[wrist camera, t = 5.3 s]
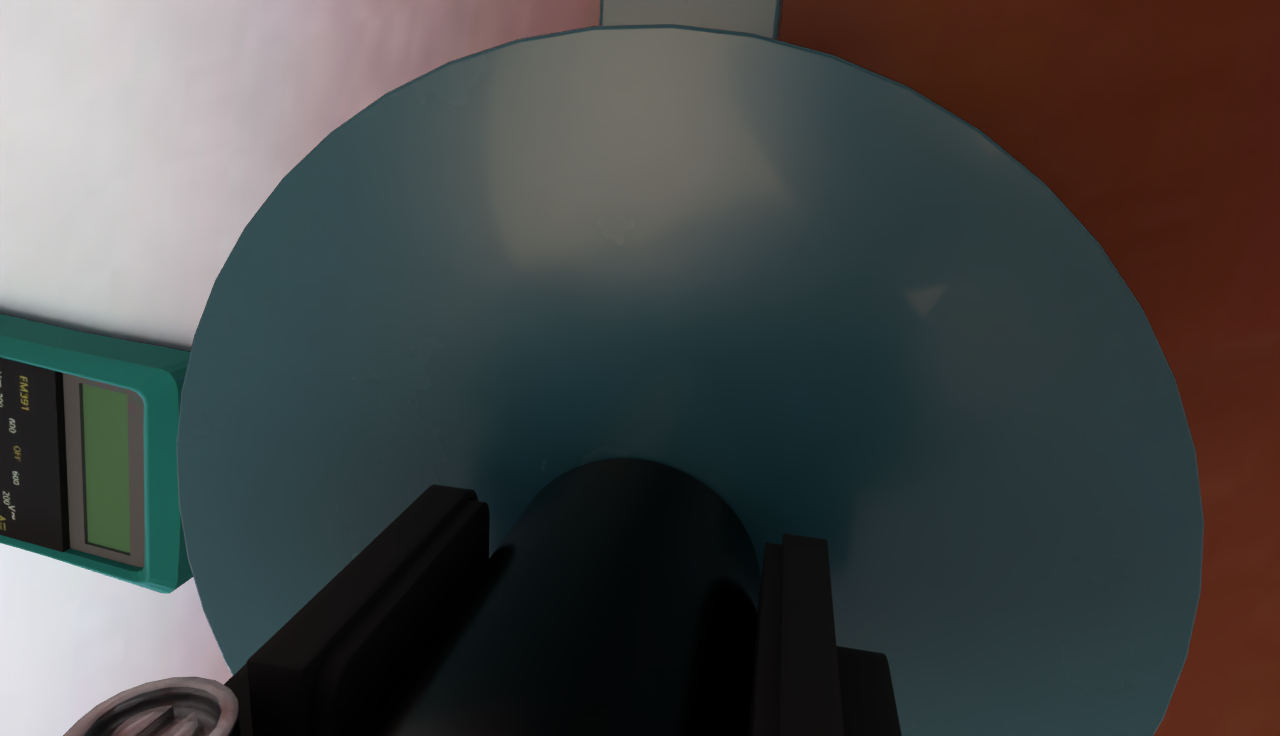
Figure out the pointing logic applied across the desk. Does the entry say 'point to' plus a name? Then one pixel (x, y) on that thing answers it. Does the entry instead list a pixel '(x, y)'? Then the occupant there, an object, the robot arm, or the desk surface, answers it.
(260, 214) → the pot lid
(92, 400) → the digital multimeter
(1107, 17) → the desk surface
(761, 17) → the pot
